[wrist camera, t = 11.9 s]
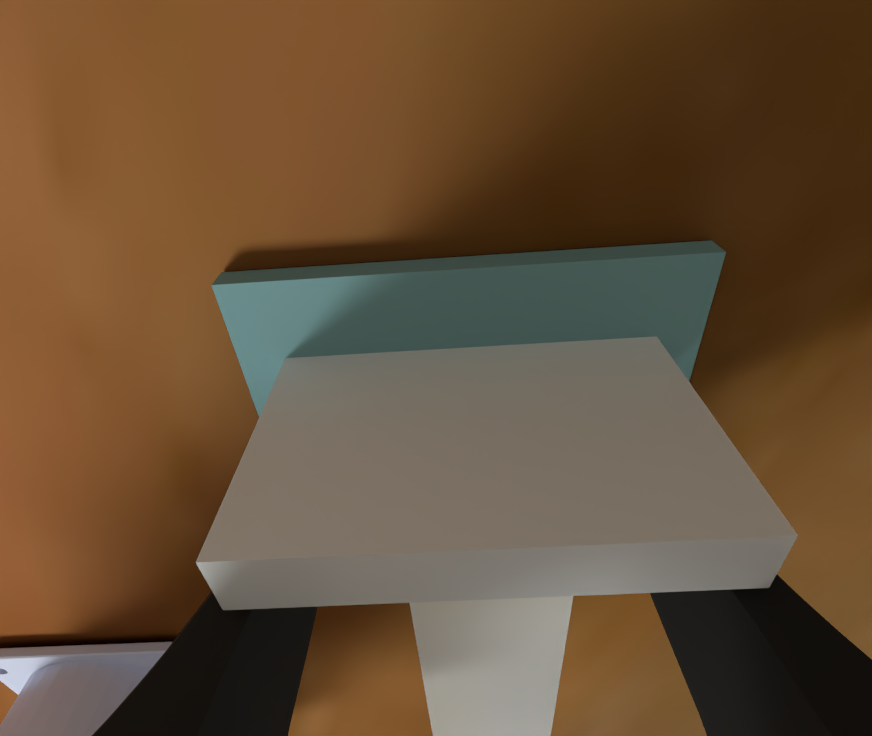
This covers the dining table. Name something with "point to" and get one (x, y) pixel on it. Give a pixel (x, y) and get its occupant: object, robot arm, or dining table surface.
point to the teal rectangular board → (469, 304)
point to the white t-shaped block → (489, 506)
